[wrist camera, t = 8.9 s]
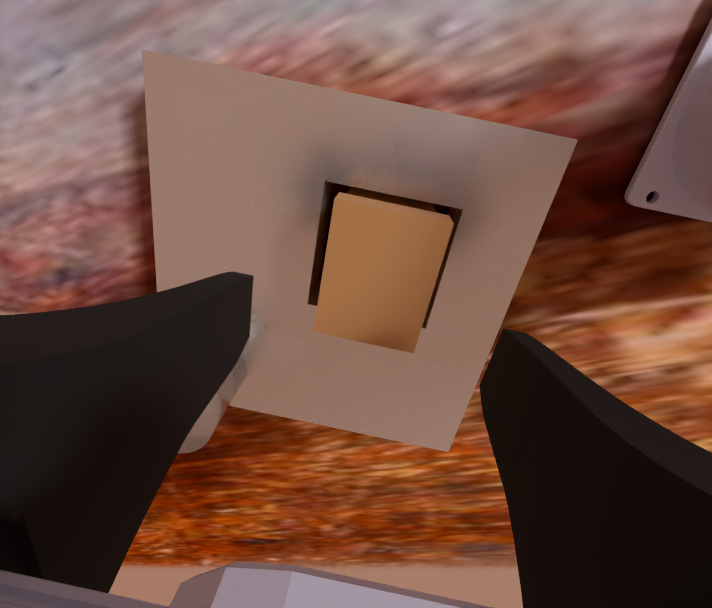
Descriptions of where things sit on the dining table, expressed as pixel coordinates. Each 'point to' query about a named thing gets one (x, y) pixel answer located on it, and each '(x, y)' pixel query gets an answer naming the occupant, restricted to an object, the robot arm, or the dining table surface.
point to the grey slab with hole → (308, 232)
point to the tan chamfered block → (380, 268)
